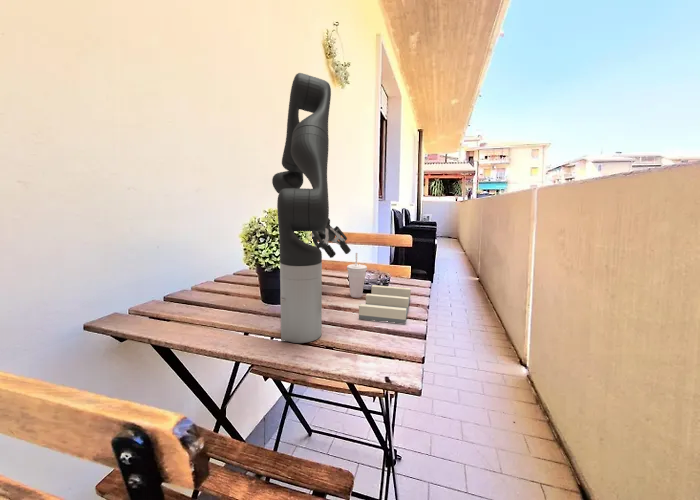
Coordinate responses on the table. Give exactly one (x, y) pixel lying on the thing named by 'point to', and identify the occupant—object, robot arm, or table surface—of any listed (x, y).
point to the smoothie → (356, 278)
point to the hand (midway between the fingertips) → (341, 254)
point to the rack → (386, 304)
